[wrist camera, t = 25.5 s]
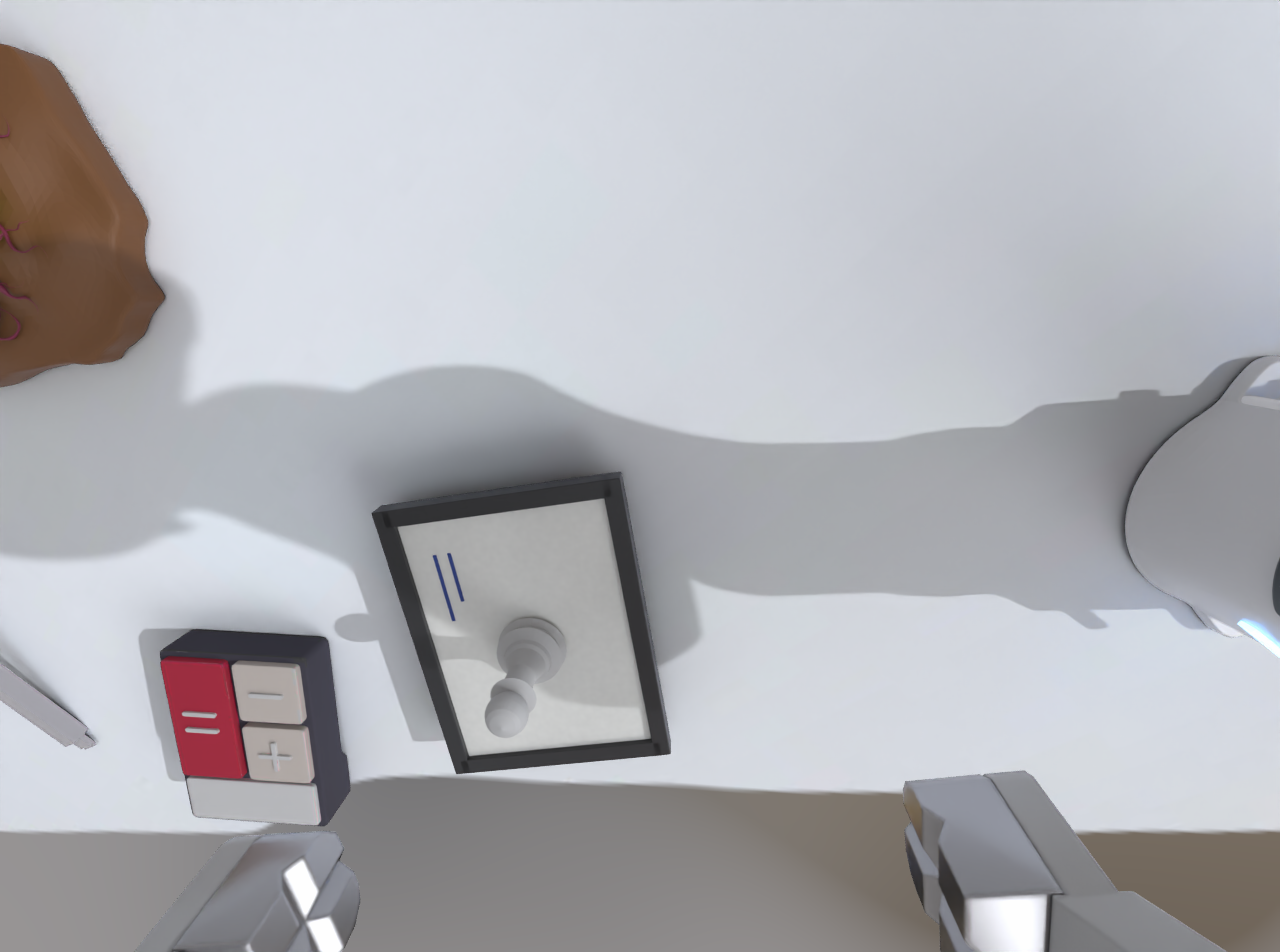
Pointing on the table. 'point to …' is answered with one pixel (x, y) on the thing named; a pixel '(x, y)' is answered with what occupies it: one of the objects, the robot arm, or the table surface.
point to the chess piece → (522, 672)
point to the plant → (63, 232)
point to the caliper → (42, 711)
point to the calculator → (256, 726)
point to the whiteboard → (530, 588)
